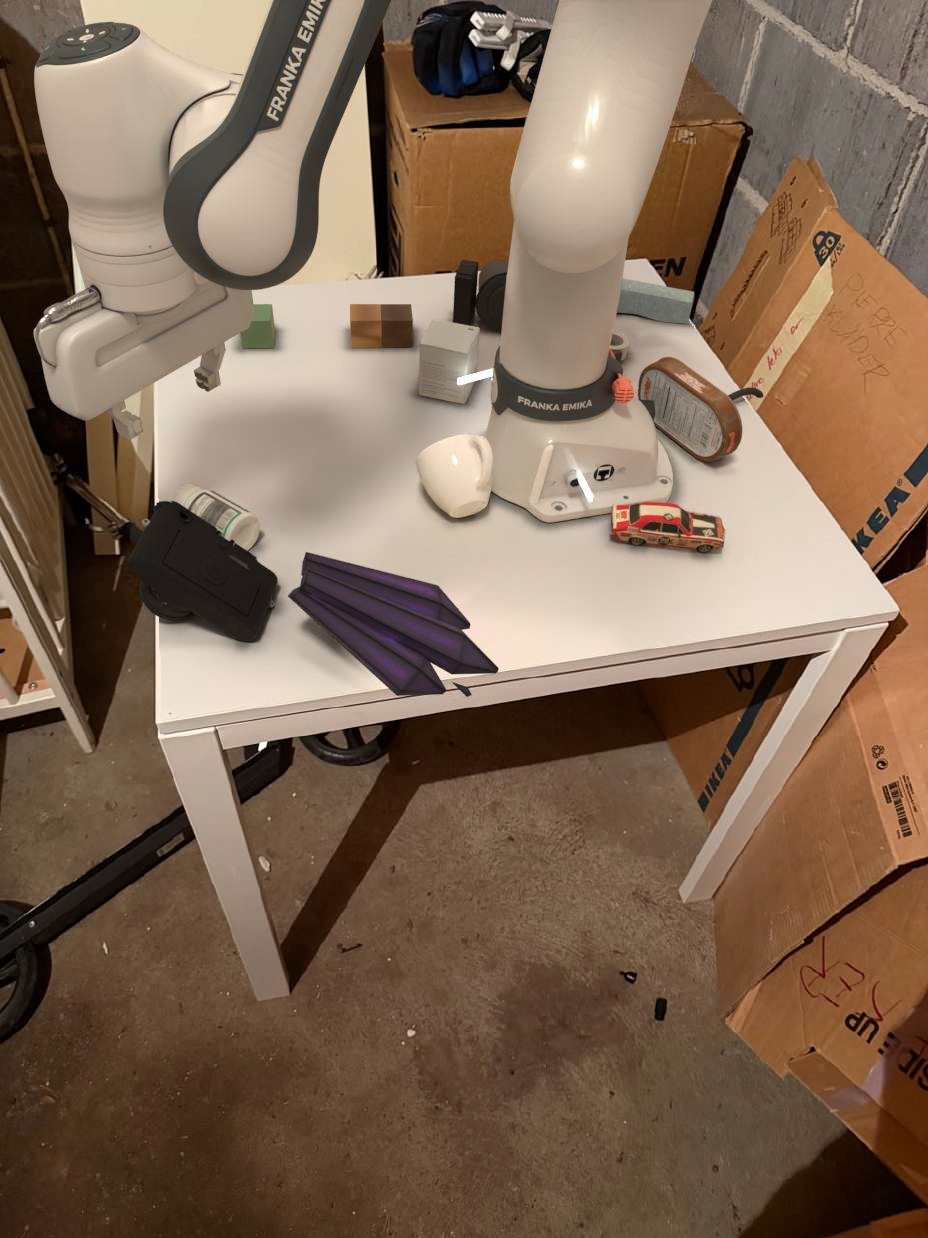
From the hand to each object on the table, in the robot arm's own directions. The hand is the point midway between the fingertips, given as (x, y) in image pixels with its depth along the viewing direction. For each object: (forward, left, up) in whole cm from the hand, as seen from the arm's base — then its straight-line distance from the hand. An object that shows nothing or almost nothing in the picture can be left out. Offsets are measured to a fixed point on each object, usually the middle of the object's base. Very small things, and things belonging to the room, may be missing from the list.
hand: (171, 409), depth 81 cm
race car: (-49, +3, -15) cm, 51 cm away
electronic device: (-45, -30, -15) cm, 56 cm away
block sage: (-4, -36, -15) cm, 39 cm away
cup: (-29, +1, -12) cm, 31 cm away
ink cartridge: (-31, -39, -15) cm, 52 cm away
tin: (-55, -14, -15) cm, 59 cm away
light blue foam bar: (-53, -44, -13) cm, 70 cm away
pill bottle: (-5, +4, -12) cm, 14 cm away
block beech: (-18, -36, -15) cm, 43 cm away
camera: (-1, +15, -11) cm, 19 cm away
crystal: (-11, +15, -7) cm, 19 cm away
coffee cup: (-37, -47, -12) cm, 61 cm away
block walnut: (-22, -36, -15) cm, 45 cm away
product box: (-28, -25, -15) cm, 40 cm away
